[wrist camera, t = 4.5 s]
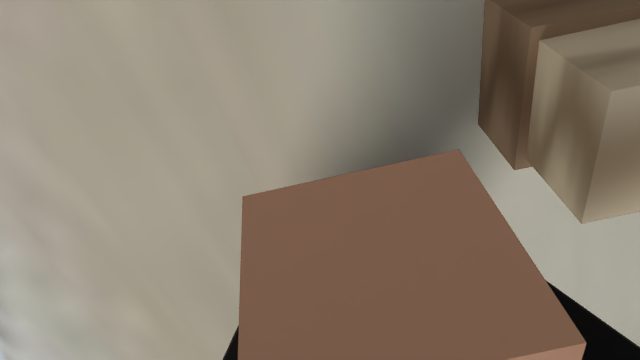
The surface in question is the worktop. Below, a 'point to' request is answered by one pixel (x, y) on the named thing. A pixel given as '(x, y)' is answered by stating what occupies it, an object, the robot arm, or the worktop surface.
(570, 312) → the robot arm
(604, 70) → the tower middle
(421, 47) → the worktop surface
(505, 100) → the tower base
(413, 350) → the terracotta block
